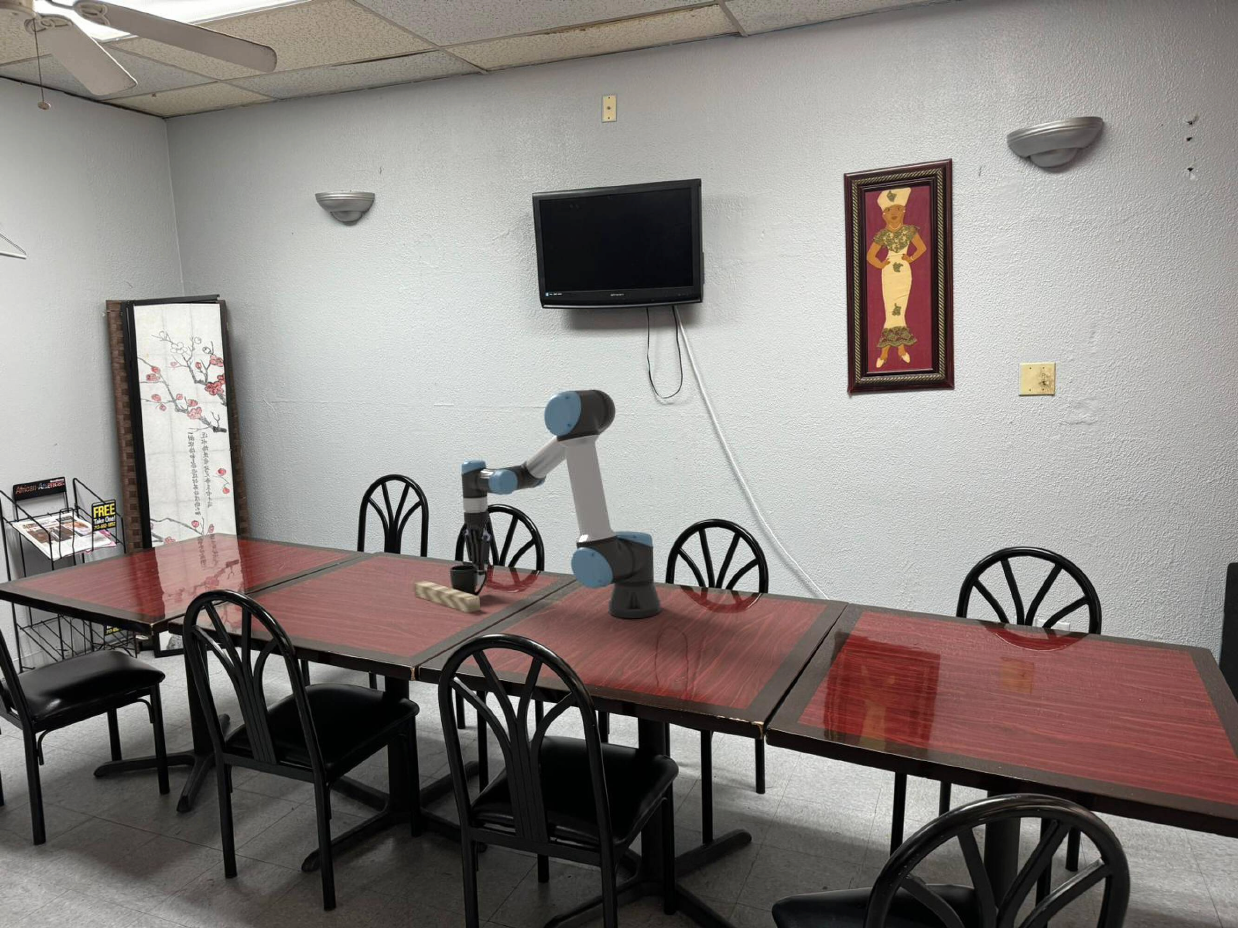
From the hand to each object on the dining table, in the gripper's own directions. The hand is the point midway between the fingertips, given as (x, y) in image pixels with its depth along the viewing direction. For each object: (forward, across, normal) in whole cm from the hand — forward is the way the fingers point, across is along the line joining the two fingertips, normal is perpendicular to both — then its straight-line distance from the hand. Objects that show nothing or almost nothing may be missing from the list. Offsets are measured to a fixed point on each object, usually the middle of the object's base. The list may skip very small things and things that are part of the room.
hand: (479, 584), depth 276 cm
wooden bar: (+3, 0, +12) cm, 13 cm away
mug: (+3, -2, +5) cm, 6 cm away
